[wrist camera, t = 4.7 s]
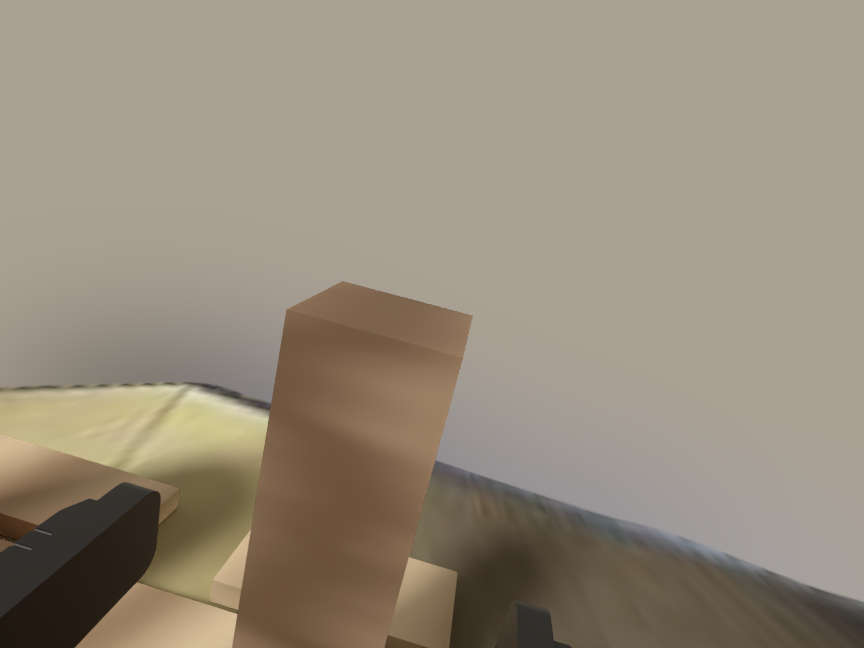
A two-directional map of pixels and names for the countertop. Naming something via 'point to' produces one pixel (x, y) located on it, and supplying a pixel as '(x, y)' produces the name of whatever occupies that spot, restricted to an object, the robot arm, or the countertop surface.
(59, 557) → the robot arm
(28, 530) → the broken strip
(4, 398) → the countertop surface
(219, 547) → the countertop surface
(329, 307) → the wooden post stand
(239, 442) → the countertop surface
